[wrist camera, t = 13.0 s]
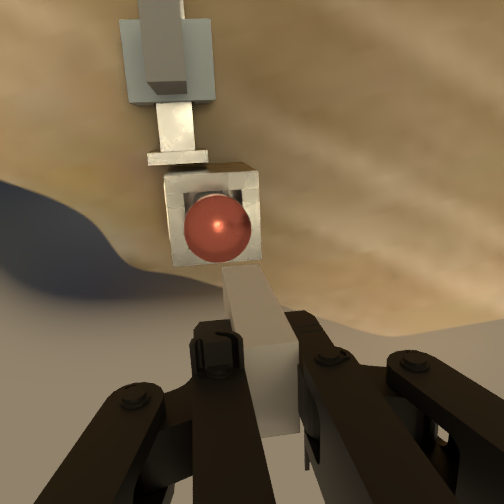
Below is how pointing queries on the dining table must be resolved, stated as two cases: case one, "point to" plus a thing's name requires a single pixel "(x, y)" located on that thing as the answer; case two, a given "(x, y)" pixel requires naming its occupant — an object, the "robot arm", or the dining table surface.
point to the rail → (176, 133)
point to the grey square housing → (206, 181)
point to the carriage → (167, 56)
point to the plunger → (217, 228)
